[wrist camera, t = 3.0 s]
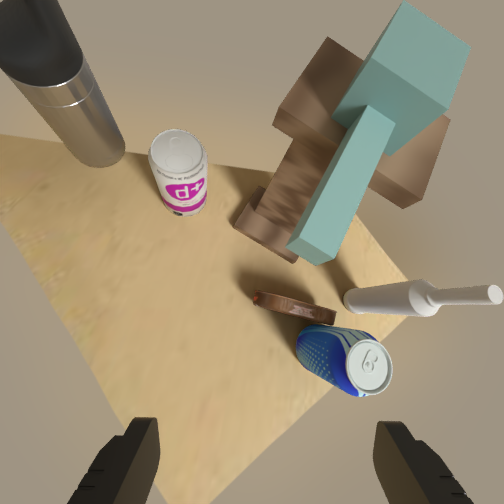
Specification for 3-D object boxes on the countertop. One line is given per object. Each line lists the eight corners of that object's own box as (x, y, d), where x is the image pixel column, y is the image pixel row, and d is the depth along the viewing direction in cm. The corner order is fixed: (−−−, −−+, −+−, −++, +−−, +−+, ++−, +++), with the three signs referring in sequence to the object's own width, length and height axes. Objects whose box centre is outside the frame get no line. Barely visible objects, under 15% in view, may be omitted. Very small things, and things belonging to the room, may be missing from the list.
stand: (233, 227, 48) (278, 106, 19) (256, 190, 51) (327, 36, 22) (292, 263, 48) (422, 199, 20) (312, 224, 51) (450, 119, 23)
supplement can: (209, 215, 47) (212, 174, 33) (166, 220, 45) (149, 180, 31) (202, 178, 49) (202, 124, 34) (160, 182, 47) (141, 126, 32)
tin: (322, 309, 48) (347, 310, 40) (320, 325, 47) (344, 329, 39) (251, 289, 46) (261, 286, 38) (247, 306, 45) (257, 306, 37)
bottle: (345, 284, 50) (477, 263, 26) (366, 293, 50) (515, 280, 26) (339, 308, 48) (473, 309, 24) (362, 317, 49) (514, 326, 25)
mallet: (263, 233, 16) (288, 203, 11) (359, 67, 22) (403, -1, 17) (336, 278, 17) (390, 267, 12) (413, 103, 22) (471, 47, 17)
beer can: (339, 361, 46) (408, 388, 31) (301, 377, 44) (354, 414, 28) (325, 318, 47) (384, 323, 32) (287, 331, 45) (330, 343, 30)
